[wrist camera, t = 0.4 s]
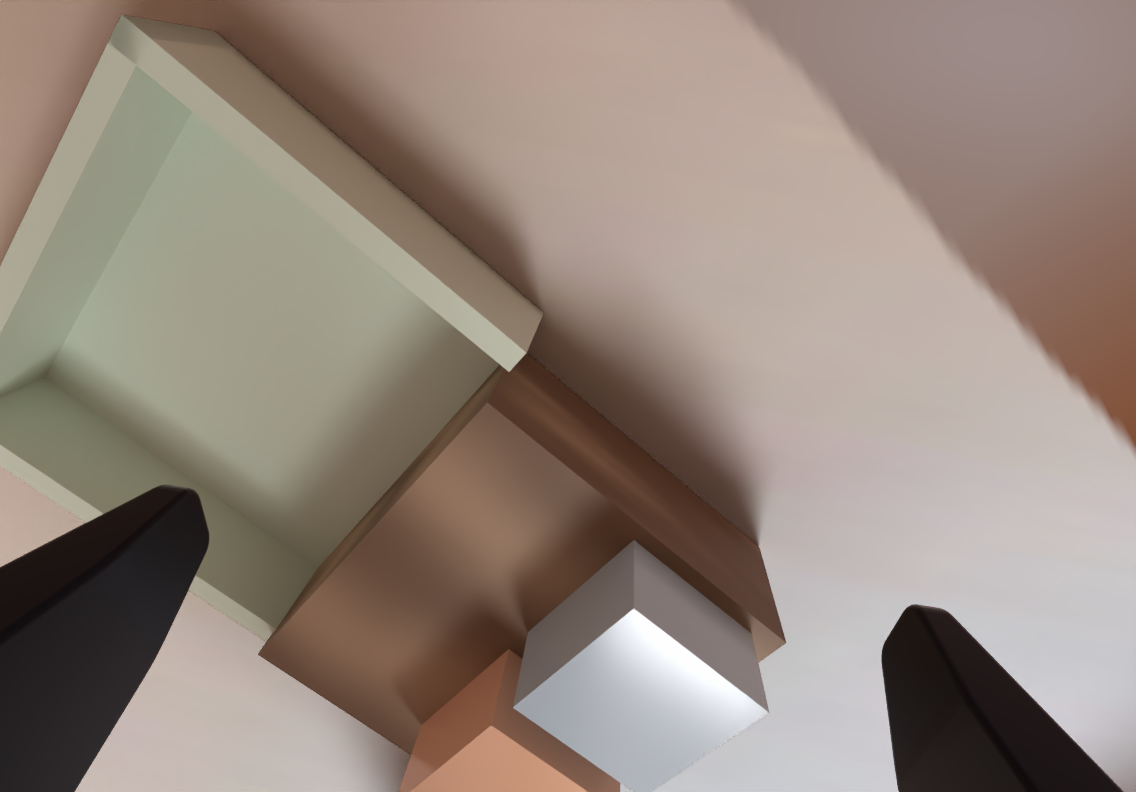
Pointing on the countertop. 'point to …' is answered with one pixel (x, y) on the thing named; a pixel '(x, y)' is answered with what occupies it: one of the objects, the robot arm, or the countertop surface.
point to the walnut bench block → (499, 553)
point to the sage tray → (233, 316)
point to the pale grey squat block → (640, 672)
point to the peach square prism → (495, 745)
